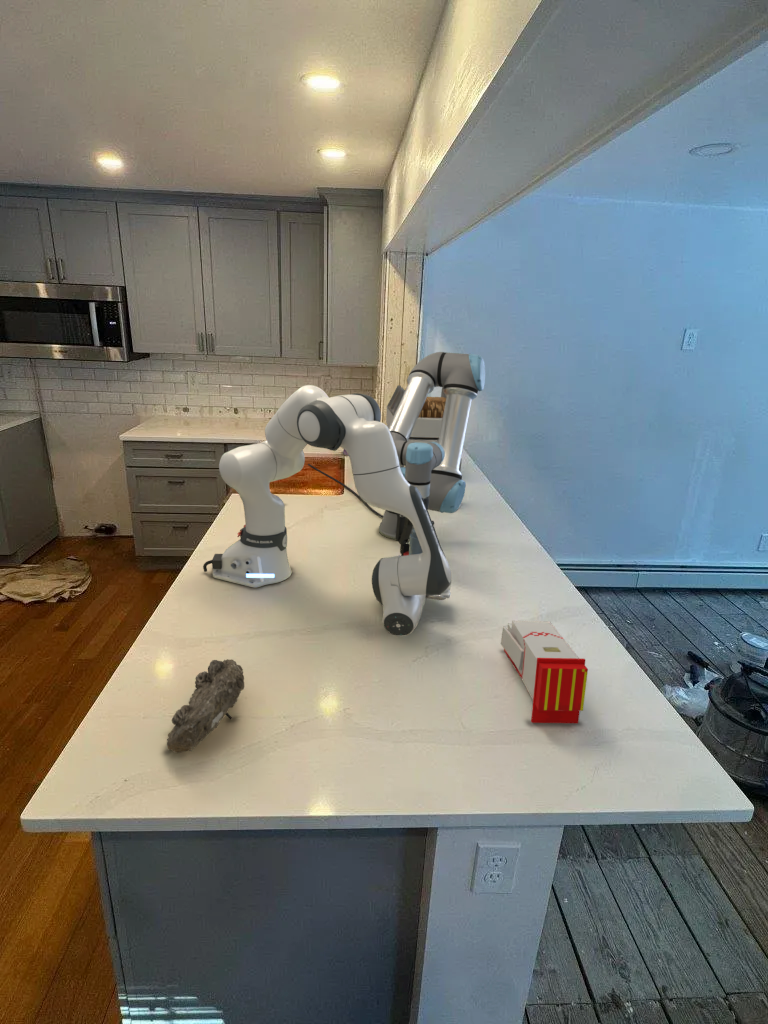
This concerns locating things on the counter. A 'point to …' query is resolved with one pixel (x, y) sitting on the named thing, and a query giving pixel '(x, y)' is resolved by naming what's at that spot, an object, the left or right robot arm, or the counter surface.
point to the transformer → (421, 418)
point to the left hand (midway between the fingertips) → (416, 571)
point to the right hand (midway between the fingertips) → (411, 567)
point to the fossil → (206, 705)
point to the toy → (547, 670)
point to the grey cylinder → (414, 544)
